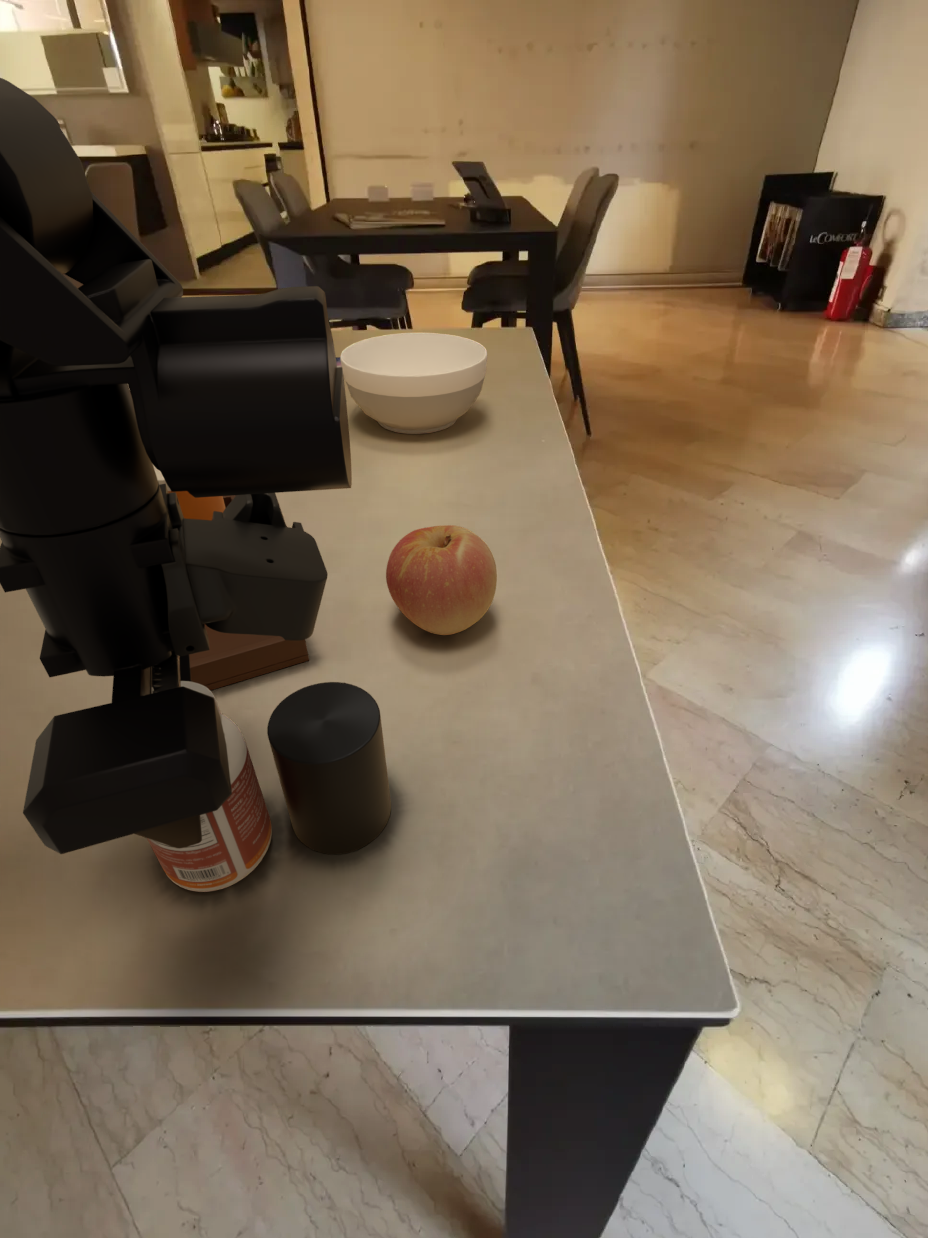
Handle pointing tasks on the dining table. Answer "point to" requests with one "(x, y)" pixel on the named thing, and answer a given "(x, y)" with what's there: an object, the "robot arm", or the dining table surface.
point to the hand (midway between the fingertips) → (186, 769)
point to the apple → (442, 578)
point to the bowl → (415, 379)
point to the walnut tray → (242, 654)
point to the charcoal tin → (331, 765)
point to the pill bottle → (223, 825)
